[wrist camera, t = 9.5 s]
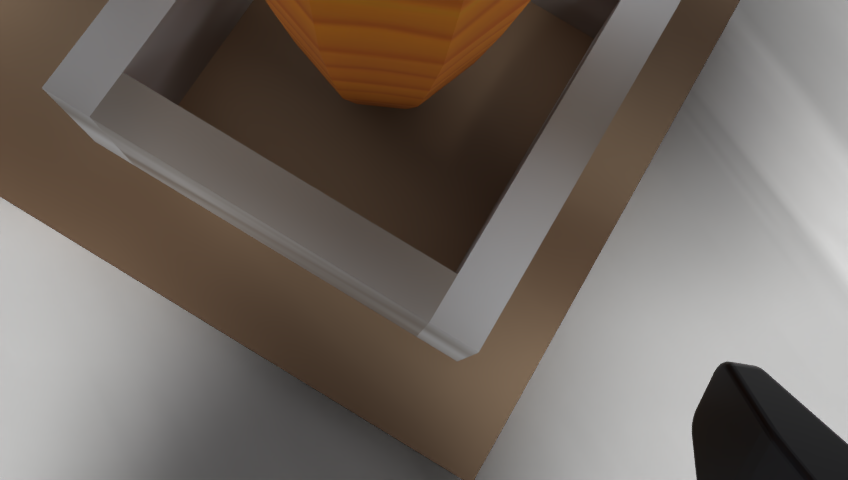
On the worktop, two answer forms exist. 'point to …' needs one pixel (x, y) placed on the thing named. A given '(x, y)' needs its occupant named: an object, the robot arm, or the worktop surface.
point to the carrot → (394, 43)
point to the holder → (349, 186)
